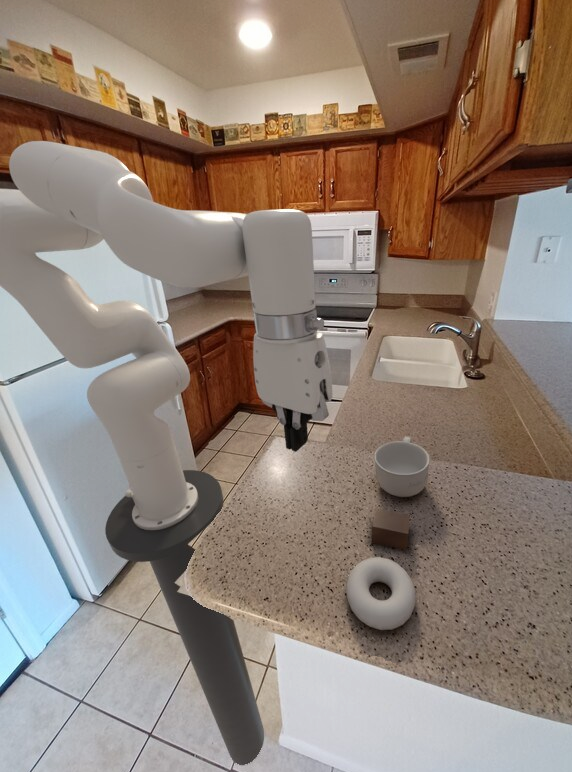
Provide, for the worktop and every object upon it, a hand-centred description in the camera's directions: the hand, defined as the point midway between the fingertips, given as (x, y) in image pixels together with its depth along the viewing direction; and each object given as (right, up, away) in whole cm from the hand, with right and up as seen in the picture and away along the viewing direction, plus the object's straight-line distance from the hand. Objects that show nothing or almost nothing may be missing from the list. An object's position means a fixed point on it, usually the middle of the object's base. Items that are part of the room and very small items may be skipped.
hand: (297, 445), depth 48 cm
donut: (+12, -23, 0) cm, 26 cm away
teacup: (+21, -12, +22) cm, 33 cm away
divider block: (+16, -18, +10) cm, 26 cm away
